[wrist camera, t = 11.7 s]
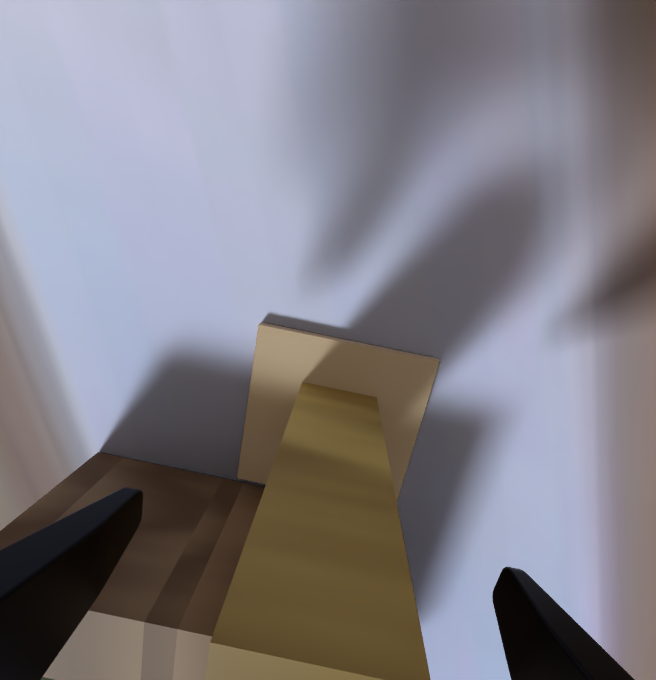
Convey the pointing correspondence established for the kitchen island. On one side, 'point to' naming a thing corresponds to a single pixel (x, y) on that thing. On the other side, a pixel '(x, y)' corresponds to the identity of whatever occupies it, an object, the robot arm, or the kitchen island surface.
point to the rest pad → (334, 372)
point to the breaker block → (151, 569)
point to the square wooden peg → (323, 559)
